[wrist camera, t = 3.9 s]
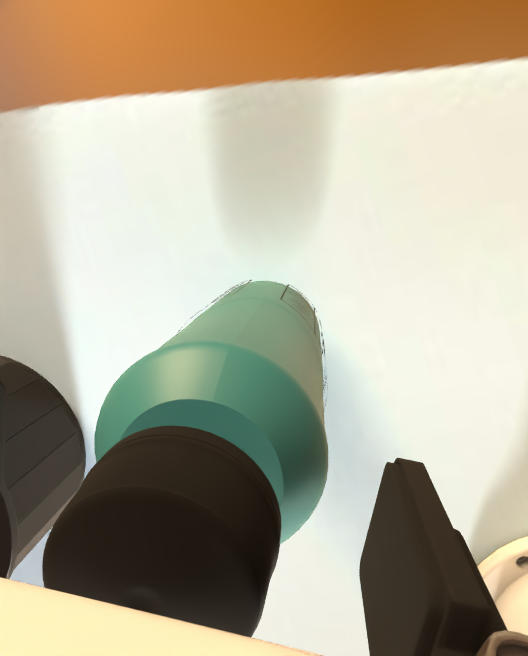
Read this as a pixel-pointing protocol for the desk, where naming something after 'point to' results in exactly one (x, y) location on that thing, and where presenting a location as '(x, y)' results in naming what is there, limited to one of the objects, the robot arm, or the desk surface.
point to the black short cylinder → (38, 452)
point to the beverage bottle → (202, 466)
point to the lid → (7, 533)
